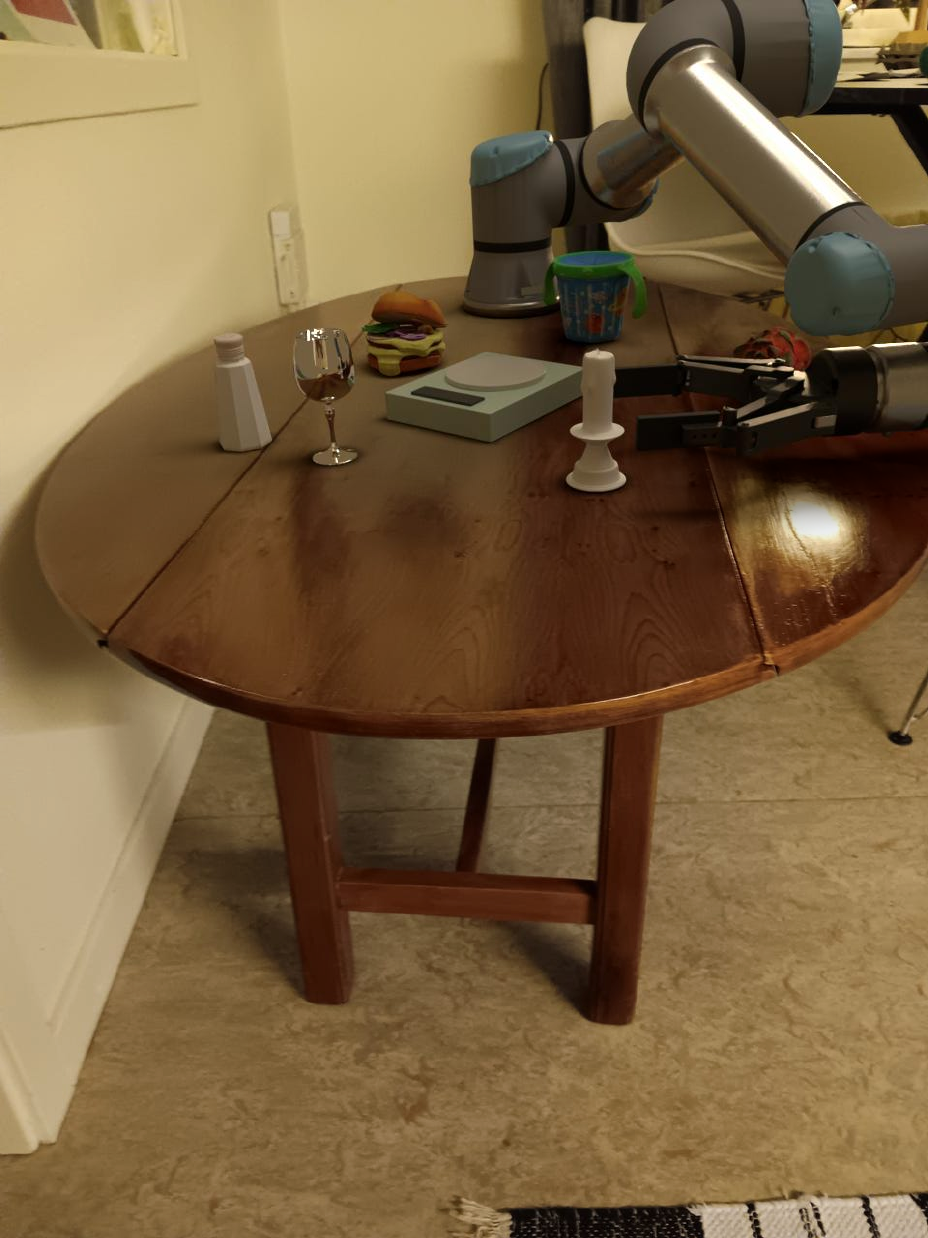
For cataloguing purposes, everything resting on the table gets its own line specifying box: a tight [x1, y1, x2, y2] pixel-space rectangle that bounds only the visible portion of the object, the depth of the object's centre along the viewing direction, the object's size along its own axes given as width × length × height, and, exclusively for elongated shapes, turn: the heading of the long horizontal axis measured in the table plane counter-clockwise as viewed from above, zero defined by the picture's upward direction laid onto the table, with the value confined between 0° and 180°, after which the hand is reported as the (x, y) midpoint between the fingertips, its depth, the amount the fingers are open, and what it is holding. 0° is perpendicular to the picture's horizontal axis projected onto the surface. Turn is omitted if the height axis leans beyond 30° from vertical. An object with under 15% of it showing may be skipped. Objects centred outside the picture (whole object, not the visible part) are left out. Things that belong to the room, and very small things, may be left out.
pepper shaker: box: [213, 332, 273, 453], centre depth 96 cm, size 5×5×11 cm
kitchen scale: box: [384, 351, 583, 443], centre depth 104 cm, size 18×14×4 cm
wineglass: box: [292, 327, 359, 466], centre depth 91 cm, size 6×6×12 cm
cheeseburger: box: [361, 290, 449, 377], centre depth 119 cm, size 10×11×10 cm
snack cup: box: [542, 250, 648, 344], centre depth 125 cm, size 16×10×10 cm
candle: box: [565, 348, 627, 493], centre depth 83 cm, size 5×5×12 cm
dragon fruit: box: [730, 325, 813, 378], centre depth 100 cm, size 8×8×12 cm
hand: (619, 406), depth 82 cm, fingers open, 13 cm apart
